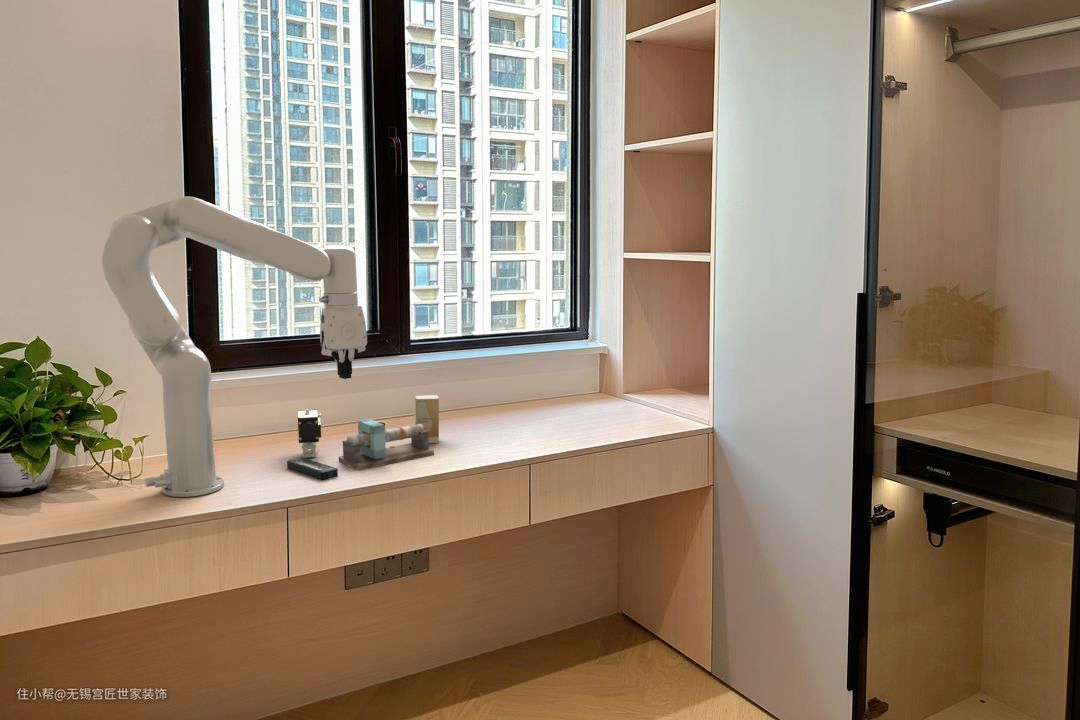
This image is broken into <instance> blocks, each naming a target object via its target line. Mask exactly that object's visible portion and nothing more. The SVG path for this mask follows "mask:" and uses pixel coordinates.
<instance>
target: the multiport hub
mask: <svg viewBox="0 0 1080 720" xmlns="http://www.w3.org/2000/svg"><path fill="white" fill-rule="evenodd" d="M286 465H287V466H286V468H287V470H289V471H293V472H294V473H295V472H296V473H298V474H302V475H304V476H307V477H309V478H313V479H316V480H319V481H322V482H323V481H326V480H327V481H328V480H331V479H335V478H338V476H339V473H338V471H339V470H338V468H337V467H334V466H331V465H327V464H324V463H321V462H318V461H315V460H313V459H308V458H307V457H306V458H303V457H297V458H294V459H290V460H287V461H286ZM334 477H335V478H334Z"/></svg>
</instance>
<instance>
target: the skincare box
mask: <svg viewBox="0 0 1080 720" xmlns="http://www.w3.org/2000/svg"><path fill="white" fill-rule="evenodd" d="M418 424H422V425H423V427H424V430H426V431H428V444H439V443H440V439H439V435H440V433H439V432H440V431H439V429H440V428H439V427H440V426H439V425H440V398H439V395H437V394H436V395H434V394H433V395H414V425H418Z"/></svg>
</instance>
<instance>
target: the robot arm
mask: <svg viewBox="0 0 1080 720" xmlns="http://www.w3.org/2000/svg"><path fill="white" fill-rule="evenodd" d="M186 238H188V239H191V240H194V241H196V242H198V243H202V244H203V245H207V246H209V247H211V248H214V249H217V250H219V251H222V252H225V253H227V254H230V255H232V256H234V257H237V258H240V259H243V260H246V261H251V262H255V263H260V264H264V265H267V266H270V267H274V268H276V269H278V270H282V271H283V272H285V273H286V272H287V273H288V274H289V275H291V276H293V277H294V278H296V279H298V280H303V281H308V282H314V283H315V282H320V281H322V280H323V295H322V296H319V297H318V301H319V303H322V304H323V305H324V306H322V308H321V313H320V314H321V315H320V320H319V321H320V325H319V339H320V341H319V342H320V346H321V355H323V356H328V357H332V359H333V360H334V361H335V362H336V369H337V375H338V378H340V379H343V380H347V379H351V378H352V374H353V365H352V364H353V363H352V362H353V361H354V359H355V357H356V356H357V354H359V353H362V352H365V351H366V346H367V344H368V335H367V325H366V319H365V314H364V311H363V306H362V305H361V304H359V302H358V301H359V299H358V282H357V281H358V279H357V261H356V260H357V259H356V258H357V255H356V252H355V251H356V250H355V249H354V248H353V247H350V246H329V247H325V248H322V247H317V246H315V245H313V244H309V243H308V242H306V241H304V240H300V239H298V238H295V237H293V236H290V235H288V234H285V233H282V232H280V231H278V230H275V229H273V228H271V227H268V226H267V225H264V224H262V223H259V222H257V221H255V220H251V219H250V218H246V217H245V216H242V215H240V214H237V213H234V212H233V211H230V210H228V209H225V208H223V207H220V206H218V205H215V204H213V203H210V202H208V201H205V200H204V199H201V198H198V197H194V196H182V197H181V196H180V197H176V198H174V199H172V200H169V201H167V202H163V203H160V204H157V205H155V206H152V207H149V208H145V209H142V210H141V209H140V210H139V211H135V212H133V213H129V214H126V215H123V216H120V217H118V218H117V219H116V220H114V222H113V223H112V224H111V226H110V229H109V235H108V237H107V239H106V241H105V244H104V246H103V250H102V251H103V252H102V259H101V260H102V263H101V264H102V270H103V274H104V278H105V280H106V283H107V284H108V287H109V288H110V290H111V291H112V294H113V295H114V297H115V299H116V300H117V302H118V304H119V305H120V307H121V309H122V310H123V312H124V314H125V315H126V317H127V318H128V325H129V329H130V330H131V332H132V333H133V335H134V337H135V338H136V340H137V341H138V343H139V345H140V346H141V348H142V350H143V351H144V353H145V354H146V355H147V357H148V359H149V360H150V361H151V363H152V365H153V366H154V367H155V369H156V371H157V373H158V374H159V376H161V381H162V404H163V405H162V406H163V419H164V430H165V431H164V432H165V442H166V443H165V444H166V446H165V447H166V456H167V457H166V458H167V468H166V469H164V470H163V472H164V473H161V474H159V476H149V477H145V478H144V485H145V487H146V488H150V487H153V486H154V488H161V493H162V494H164V495H165V496H169V497H175V498H189V497H199V496H204V495H208V494H211V493H215V492H217V491H219V490H221V489H222V488H223V487H224V484H225V482H224V481H225V480H224V478H222V477H220V476H217V472H216V458H215V457H216V456H215V442H214V441H215V440H214V429H213V428H214V426H213V415H212V413H213V412H212V368H211V364H210V361H209V359H208V358H207V356H206V354H205V353H204V352H203V351H202V350H201V349H200V348H198V347H196V345H195V343H194V342H193V340H192V339H191V337H190V336H189V334H188V332H187V330H186V328H185V327H184V326H183V324H182V320H181V316H180V314H179V312H178V311H177V309H176V308H175V307H174V305H172V303H171V301H170V300H169V298H168V297H167V296H166V294H165V292H164V291H163V289H162V288H161V286H160V283H159V282H158V280H157V278H156V277H155V274H154V273H153V271H152V269H151V265H150V258H151V255H152V254H151V253H152V252H153V251H154V250H156V249H158V248H160V247H164V246H167V245H170V244H172V243H175V242H178V241H181V240H183V239H186Z"/></svg>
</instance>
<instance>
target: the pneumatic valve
mask: <svg viewBox="0 0 1080 720" xmlns="http://www.w3.org/2000/svg"><path fill="white" fill-rule="evenodd" d="M321 418H322V413H321V412H320V413H319V412H318V409H309V408H307V409H305V410H304V409H303V410H301V409H300V410H297V430H298V444H301V449H302V454H301V455H302V456H301V458H306V459H308V458H314V459H315V458H317V456H318V455H317V454H318V453H317V443H319V442H320V441H319V440H320V438H322V425H321V424H322V423H321Z"/></svg>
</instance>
